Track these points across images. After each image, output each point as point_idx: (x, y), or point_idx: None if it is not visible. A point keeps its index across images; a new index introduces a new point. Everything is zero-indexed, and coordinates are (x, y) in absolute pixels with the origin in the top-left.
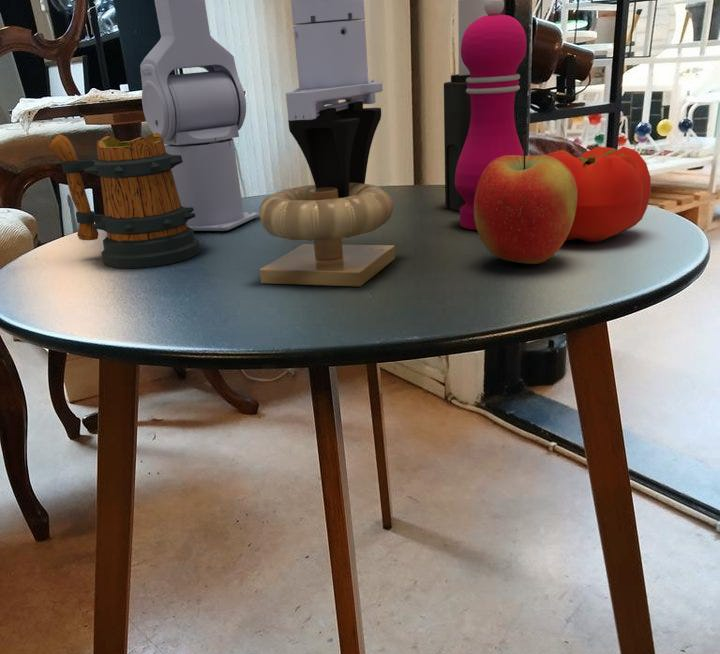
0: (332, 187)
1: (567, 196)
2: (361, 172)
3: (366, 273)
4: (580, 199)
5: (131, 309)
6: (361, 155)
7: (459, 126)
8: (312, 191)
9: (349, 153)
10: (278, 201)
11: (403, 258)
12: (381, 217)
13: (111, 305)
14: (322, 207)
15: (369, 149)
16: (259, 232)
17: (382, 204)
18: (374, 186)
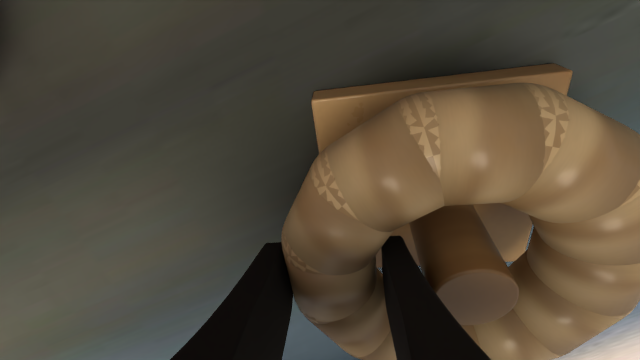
0: (441, 291)
1: None
2: (262, 290)
3: (521, 71)
4: None
5: (633, 327)
6: (248, 336)
7: None
8: (503, 313)
9: (432, 350)
10: (589, 338)
11: (301, 75)
12: (529, 83)
13: (607, 350)
14: None
15: (193, 341)
16: None
17: (522, 99)
18: (383, 197)
